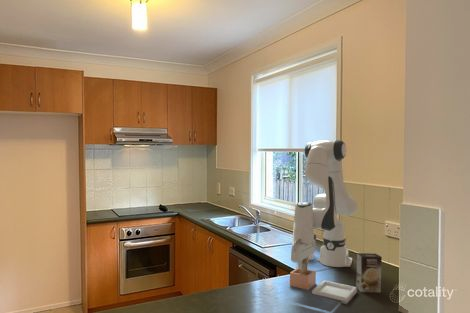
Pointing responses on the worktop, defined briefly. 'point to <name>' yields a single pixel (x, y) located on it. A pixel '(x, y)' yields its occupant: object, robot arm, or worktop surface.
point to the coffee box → (368, 272)
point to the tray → (335, 291)
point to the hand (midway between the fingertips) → (303, 267)
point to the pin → (304, 267)
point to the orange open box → (303, 279)
